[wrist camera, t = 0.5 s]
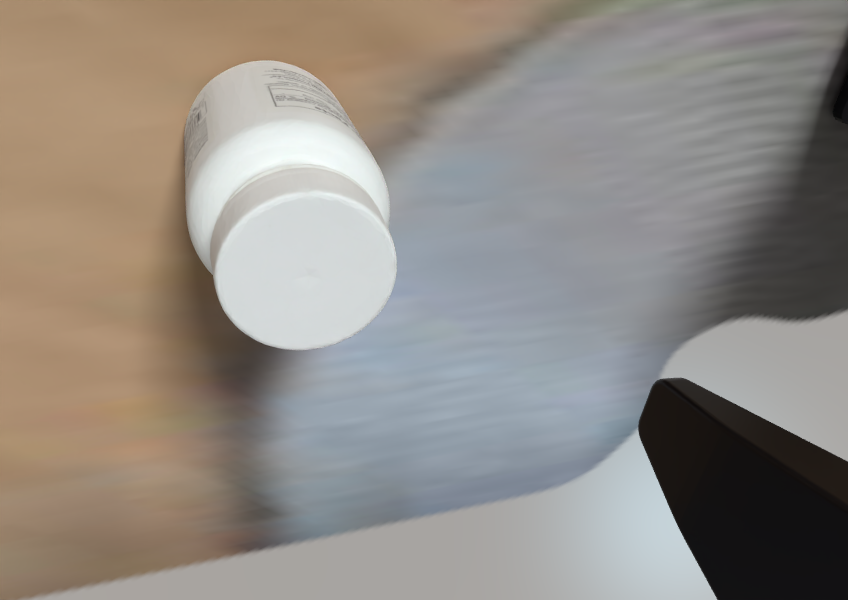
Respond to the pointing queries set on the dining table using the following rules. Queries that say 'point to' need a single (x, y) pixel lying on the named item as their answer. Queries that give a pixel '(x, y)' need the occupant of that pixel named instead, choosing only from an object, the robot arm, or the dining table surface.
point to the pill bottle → (286, 207)
